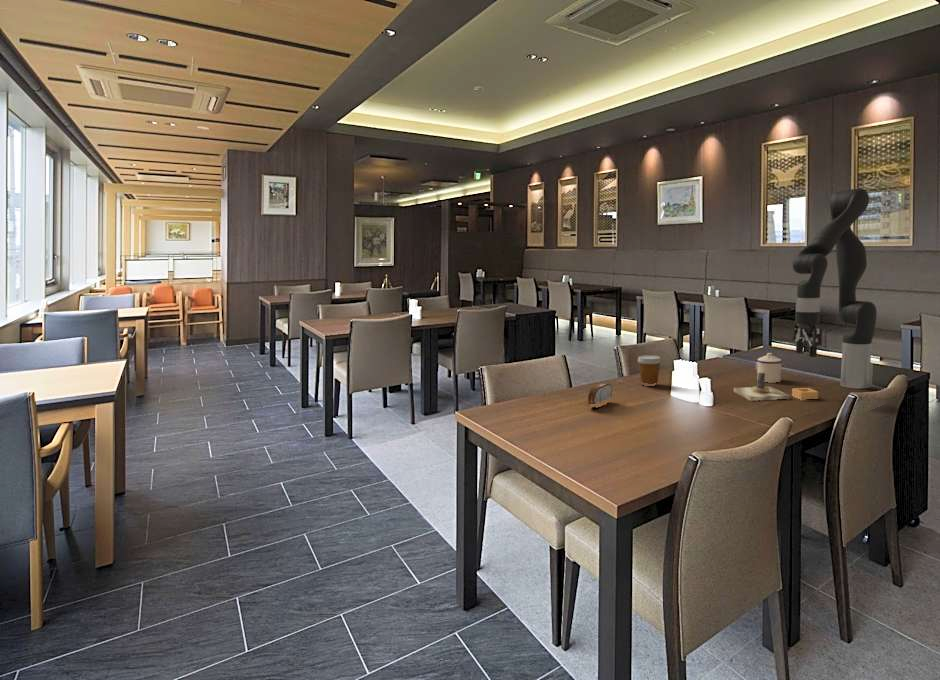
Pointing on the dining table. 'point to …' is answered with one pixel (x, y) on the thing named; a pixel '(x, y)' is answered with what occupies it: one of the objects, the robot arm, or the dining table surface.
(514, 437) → the dining table surface
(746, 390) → the post stand
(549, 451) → the dining table surface
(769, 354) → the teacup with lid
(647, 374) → the disposable coffee cup
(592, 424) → the dining table surface
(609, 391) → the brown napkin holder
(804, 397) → the orange square socket block
